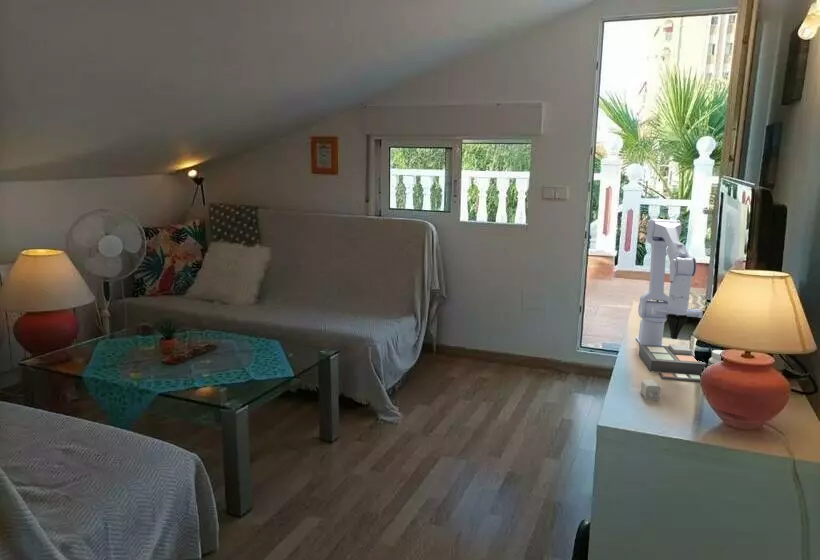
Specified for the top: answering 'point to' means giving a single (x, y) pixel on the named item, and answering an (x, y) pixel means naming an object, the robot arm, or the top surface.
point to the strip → (680, 377)
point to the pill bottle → (715, 357)
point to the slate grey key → (679, 349)
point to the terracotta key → (686, 358)
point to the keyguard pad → (669, 362)
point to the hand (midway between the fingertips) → (673, 338)
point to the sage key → (662, 356)
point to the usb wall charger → (650, 389)
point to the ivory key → (657, 349)
